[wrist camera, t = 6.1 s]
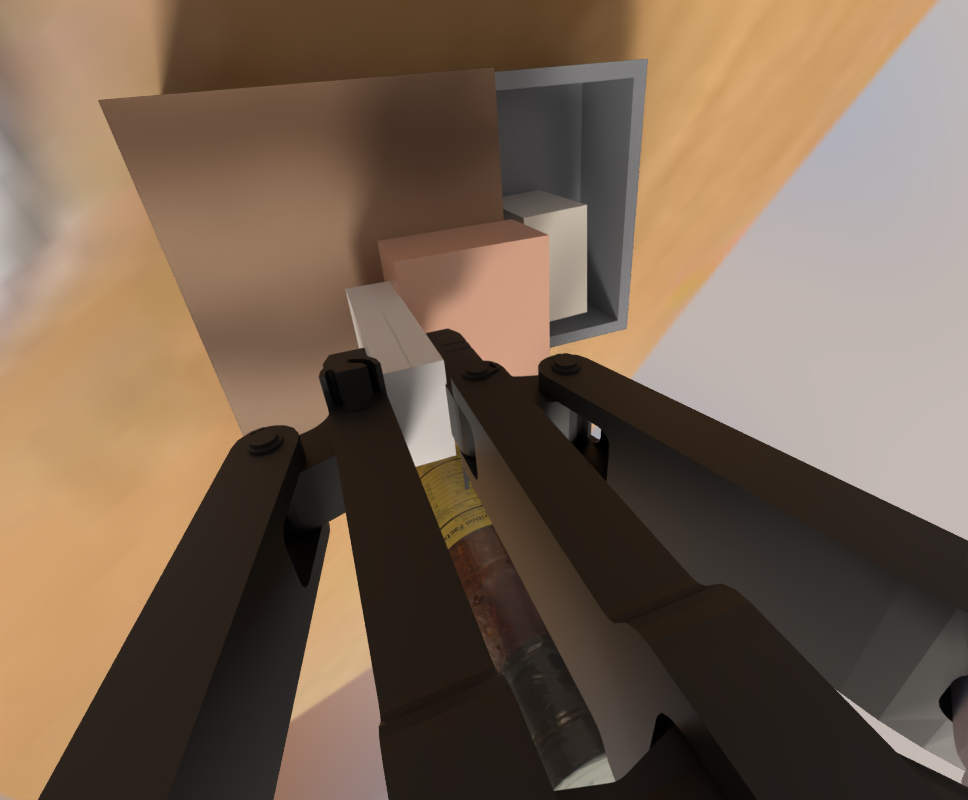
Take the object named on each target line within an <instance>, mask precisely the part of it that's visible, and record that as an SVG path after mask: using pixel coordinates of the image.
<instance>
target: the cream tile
mask: <svg viewBox="0 0 968 800" xmlns="http://www.w3.org/2000/svg"><path fill="white" fill-rule="evenodd" d="M502 200H503V216H504V220H510V219H513V220H515V221H517V222H520V223H522V224H524V225H527V226H529V227H531V228H534V229H536V230H538V231H541V232H543V233H545V234H548V235H549V322H550V321H554V320H558V319H562V318H566V317H569V316H573V315H577V314H581V313H585V312H587V205H586V204H583V203H579V202H576V201H573V200H570V199H567V198H563V197H560V196H557V195H554V194H550V193H547V192H544V191H541V190H535V191H530V192H525V193H520V194H514V195H509V196H504V197H502Z"/></svg>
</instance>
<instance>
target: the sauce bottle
mask: <svg viewBox="0 0 968 800" xmlns="http://www.w3.org/2000/svg"><path fill="white" fill-rule="evenodd" d="M455 449H456V455H455V456H452V457H448V458H445V459H441V460H438V461H434V462H431V463H427V464H424V465H420V466H417V467H416V469H417V472H418V474H419V477H420V479H421V482H422V484H423V487H424V489H425V492H426V494H427V497H428V499H429V502H430V504H431V507H432V510H433V512H434V515H435V517H436V520H437V522H438V525H439V527H440V530H441V532H442V535H443V537H444V540H445V542H446V545H447V548H448V550H449V553H450V555H451V558H452V560H453V563H454V565H455V568H456V570H457V573H458V575H459V578H460V580H461V583H462V585H463V588H464V591H465V593H466V596H467V598H468V601H469V603H470V606H471V608H472V611H473V613H474V616H475V618H476V621H477V623H478V626H479V629H480V631H481V634H482V636H483V639H484V641H485V644H486V646H487V649H488V651H489V654H490V656H491V659H492V661H493V663H494V666H495V668H496V669H497V671H498V672H499V673H501V674H503V675H504V676H505V678H506V679H507V681H508V683H509V684H510V687H511V689H512V691H513V693H514V695H515V698H516V700H517V702H518V705H519V707H520V709H521V712H522V714H523V717H524V719H525V722H526V724H527V726H528V729H529V731H530V734H531V736H532V739H533V741H534V744H535V746H536V748H537V751H538V753H539V756H540V758H541V761H542V763H543V765H544V768H545V770H546V773H547V775H548V778H549V780H550V783H551V785H552V787H553V790H554V791H556V790H563V789H570V788H577V787H584V786H591V785H598V784H605V783H611V782H615V779H614V776H613V774H612V771H611V768H610V765H609V763H608V760H607V756H606V752H605V748H604V744H603V741H602V737H601V734H600V732H599V729H598V727H597V724H596V722H595V720H594V718H593V716H592V714H591V712H590V710H589V708H588V707H587V705H586V703H585V701H584V699H583V697H582V695H581V693H580V691H579V689H578V687H577V685H576V684H575V682H574V680H573V678H572V676H571V674H570V672H569V670H568V668H567V666H566V664H565V662H564V660H563V659H562V657H561V655H560V653H559V651H558V649H557V647H556V645H555V643H554V641H553V639H552V637H551V636H550V634H549V632H548V630H547V628H546V626H545V624H544V622H543V620H542V618H541V616H540V614H539V613H538V611H537V609H536V607H535V605H534V603H533V601H532V599H531V597H530V595H529V593H528V591H527V590H526V588H525V586H524V584H523V582H522V580H521V578H520V576H519V574H518V572H517V570H516V568H515V566H514V565H513V563H512V561H511V559H510V557H509V555H508V553H507V551H506V549H505V547H504V545H503V543H502V542H501V540H500V538H499V536H498V534H497V532H496V530H495V528H494V526H493V524H492V522H491V520H490V519H489V517H488V515H487V513H486V511H485V509H484V507H483V505H482V503H481V501H480V499H479V497H478V495H477V494H476V492H475V490H474V488H473V486H472V484H471V482H470V481H469V488H470V489H467V490H465V485H464V478H463V470H462V462H461V454H460V448H459V446H455Z"/></svg>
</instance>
